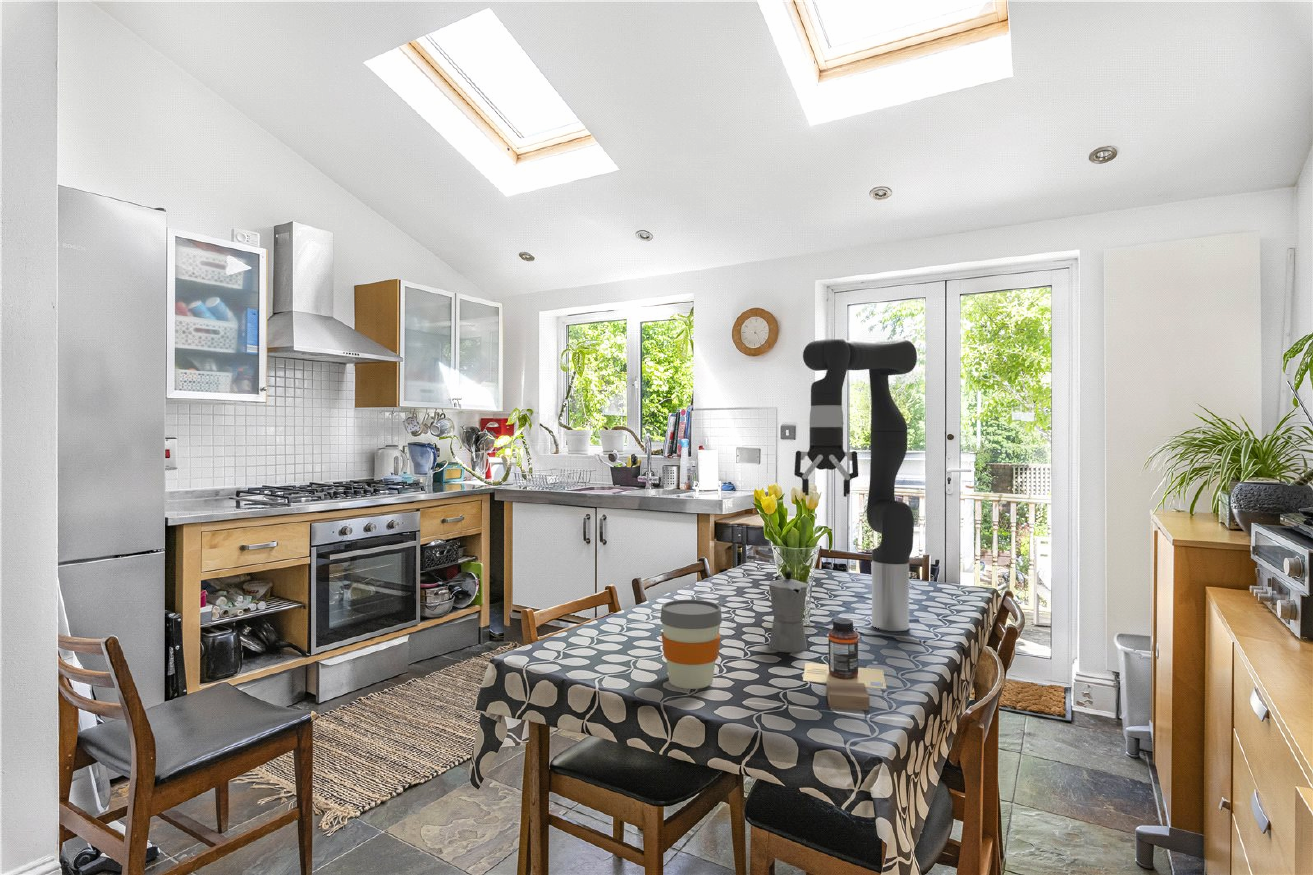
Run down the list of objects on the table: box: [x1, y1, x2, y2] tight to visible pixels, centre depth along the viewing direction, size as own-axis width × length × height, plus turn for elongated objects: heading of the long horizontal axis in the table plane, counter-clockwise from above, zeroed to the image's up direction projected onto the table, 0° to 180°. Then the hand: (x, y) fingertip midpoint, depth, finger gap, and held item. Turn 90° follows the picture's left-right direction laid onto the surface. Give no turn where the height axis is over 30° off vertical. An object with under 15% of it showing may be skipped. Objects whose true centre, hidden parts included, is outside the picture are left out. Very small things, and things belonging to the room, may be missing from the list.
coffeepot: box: [768, 570, 808, 654], centre depth 156 cm, size 15×9×18 cm, turn 8°
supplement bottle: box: [828, 617, 859, 679], centre depth 136 cm, size 6×6×11 cm
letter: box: [802, 662, 887, 690], centre depth 136 cm, size 11×16×1 cm
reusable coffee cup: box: [660, 599, 723, 690], centre depth 134 cm, size 12×13×15 cm
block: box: [825, 681, 870, 711], centre depth 123 cm, size 7×7×3 cm
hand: (826, 495), depth 152 cm, fingers open, 8 cm apart
